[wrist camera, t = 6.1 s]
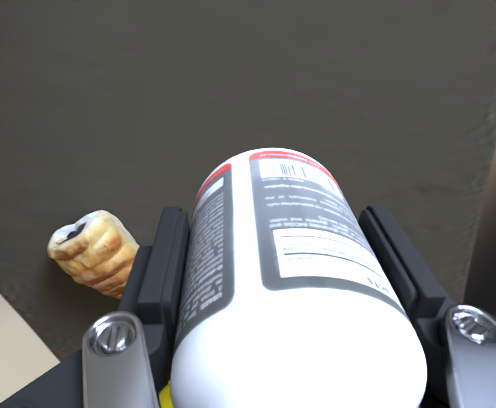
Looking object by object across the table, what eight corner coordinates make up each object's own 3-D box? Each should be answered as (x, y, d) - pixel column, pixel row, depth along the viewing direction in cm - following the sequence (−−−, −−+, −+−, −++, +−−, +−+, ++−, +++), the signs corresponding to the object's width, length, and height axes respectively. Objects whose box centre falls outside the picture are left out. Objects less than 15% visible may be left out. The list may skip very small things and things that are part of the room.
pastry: (172, 270, 33) (165, 301, 30) (117, 295, 35) (105, 327, 32) (105, 200, 28) (89, 227, 25) (46, 232, 30) (24, 261, 27)
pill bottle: (236, 278, 16) (244, 619, 7) (165, 184, 13) (44, 575, 4) (357, 231, 14) (529, 577, 6) (308, 113, 11) (516, 478, 3)
